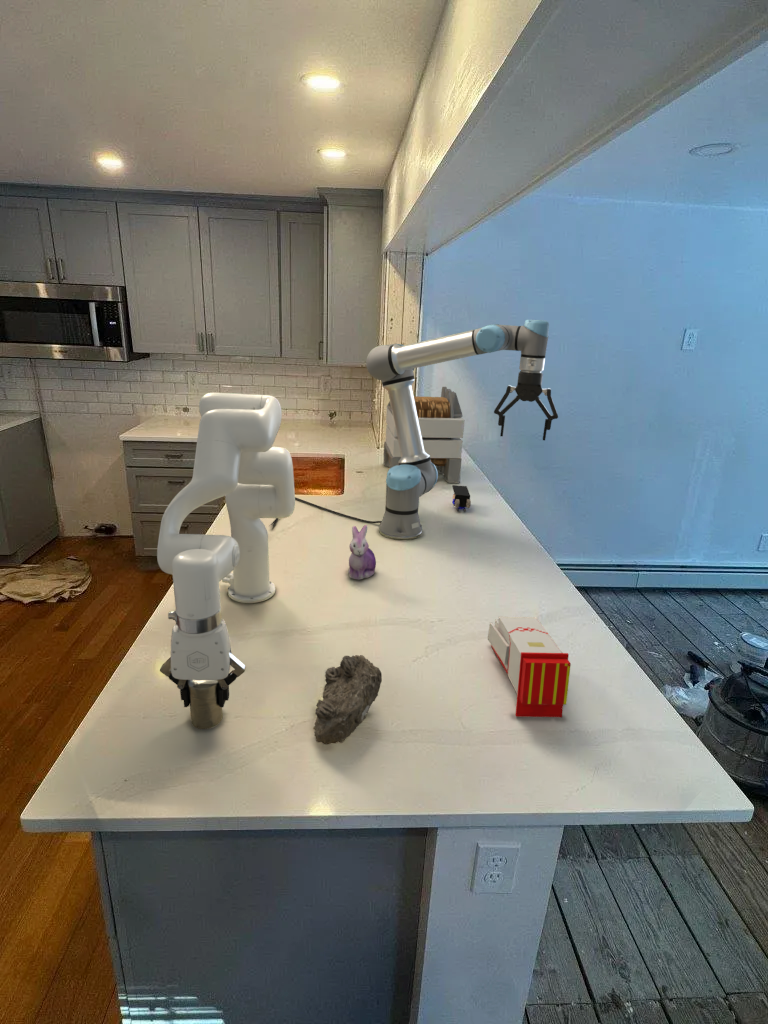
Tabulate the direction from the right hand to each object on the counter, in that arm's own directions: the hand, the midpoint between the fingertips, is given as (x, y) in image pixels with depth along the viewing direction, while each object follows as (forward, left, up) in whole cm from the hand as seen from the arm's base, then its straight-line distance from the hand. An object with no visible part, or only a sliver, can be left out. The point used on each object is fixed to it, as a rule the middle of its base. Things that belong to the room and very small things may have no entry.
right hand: (522, 437), depth 186 cm
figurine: (-10, -59, -37) cm, 70 cm away
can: (+22, -121, -37) cm, 128 cm away
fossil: (+36, -99, -37) cm, 111 cm away
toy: (+50, -62, -37) cm, 88 cm away
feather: (-64, -54, -37) cm, 92 cm away
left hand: (+22, -121, -33) cm, 127 cm away
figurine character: (-34, +11, -37) cm, 51 cm away
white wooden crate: (-79, +33, -37) cm, 93 cm away
